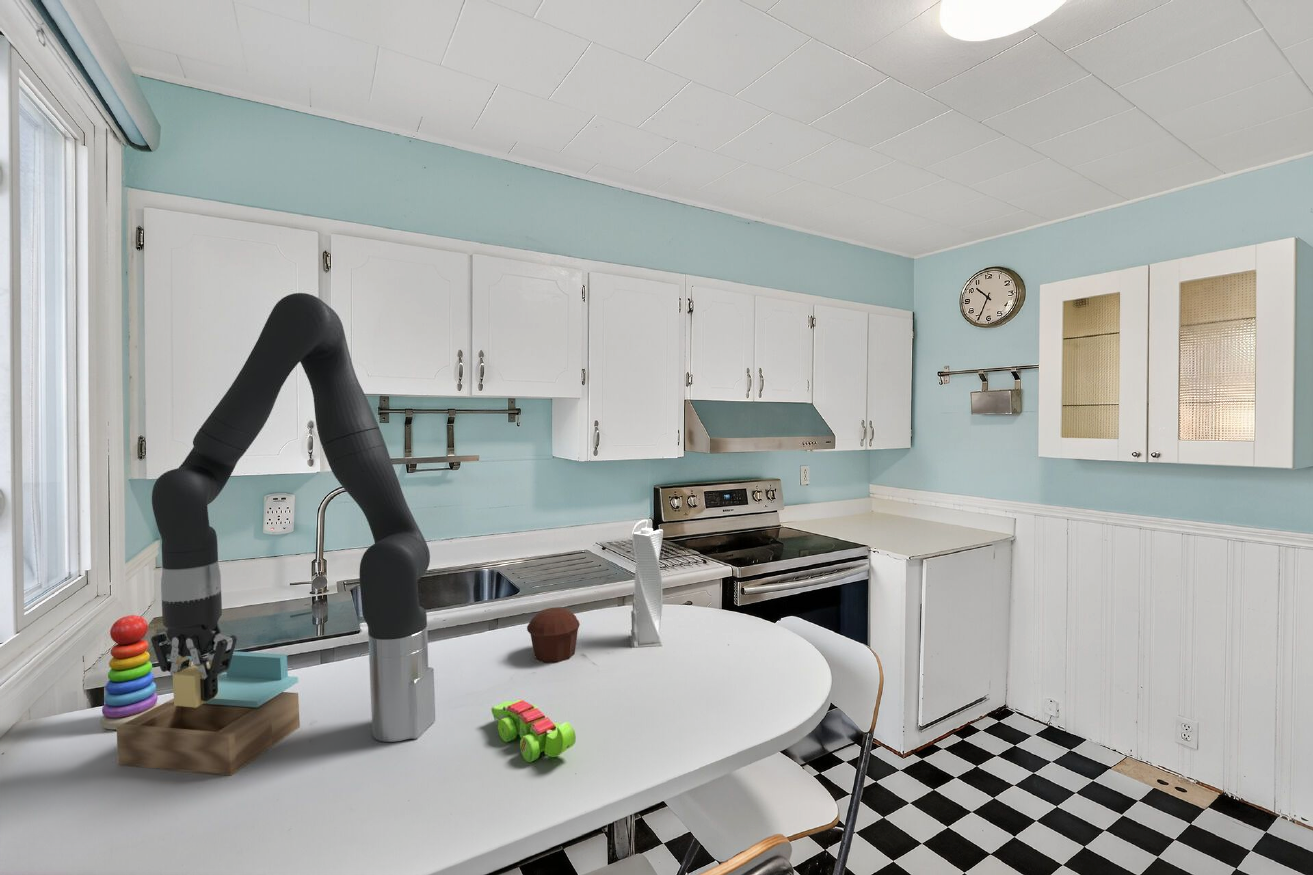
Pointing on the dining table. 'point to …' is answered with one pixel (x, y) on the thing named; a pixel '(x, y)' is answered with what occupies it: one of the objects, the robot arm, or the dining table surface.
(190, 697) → the ochre block
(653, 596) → the skyscraper
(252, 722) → the wooden box
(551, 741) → the toy crocodile
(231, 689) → the sliding lid
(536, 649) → the muffin
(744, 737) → the dining table surface
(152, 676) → the stacking toy
